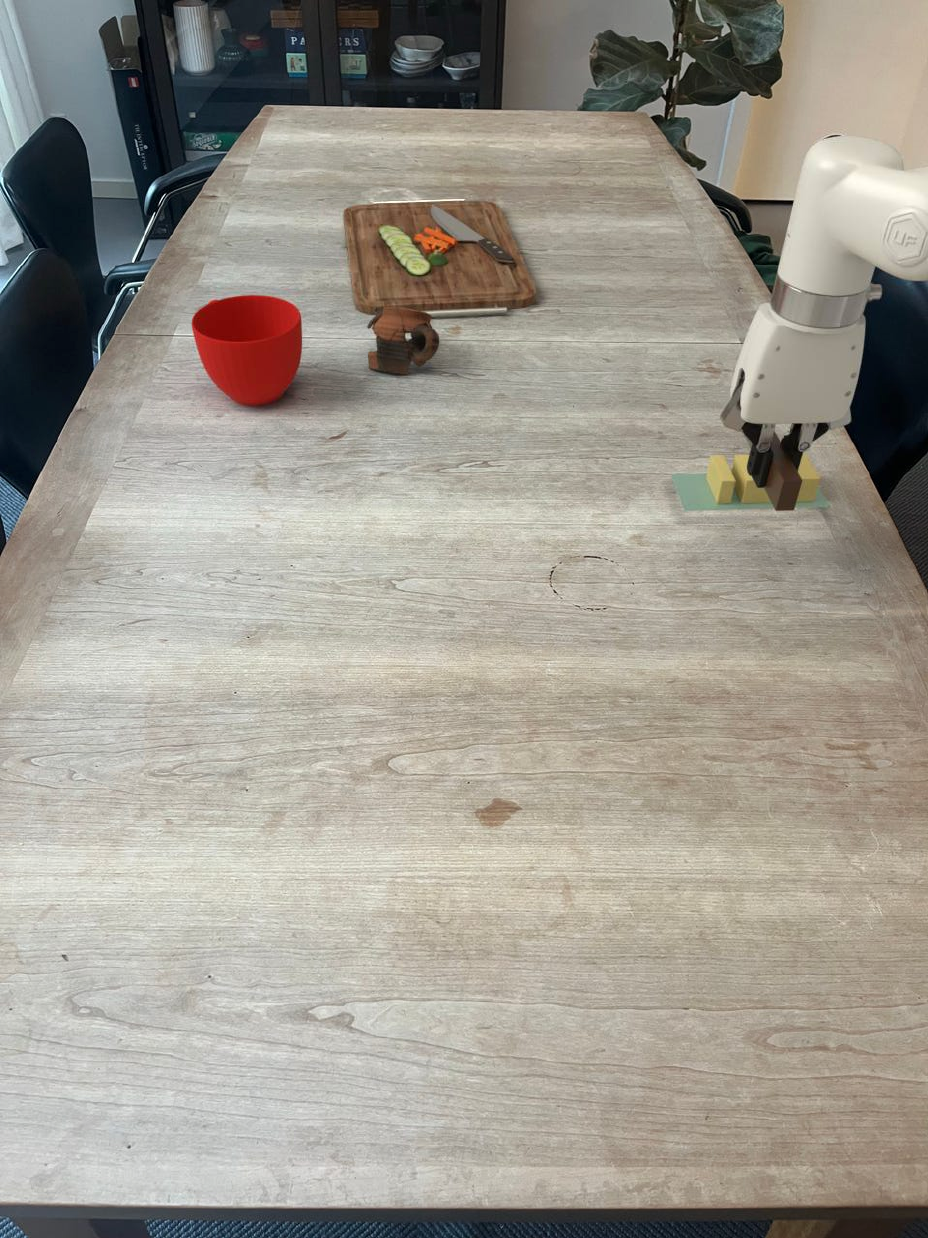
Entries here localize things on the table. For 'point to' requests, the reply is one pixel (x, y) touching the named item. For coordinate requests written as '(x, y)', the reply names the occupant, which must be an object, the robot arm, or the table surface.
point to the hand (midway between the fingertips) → (769, 478)
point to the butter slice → (720, 479)
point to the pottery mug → (401, 339)
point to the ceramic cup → (249, 346)
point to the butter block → (758, 495)
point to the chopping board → (435, 258)
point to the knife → (781, 478)
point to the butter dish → (700, 497)
